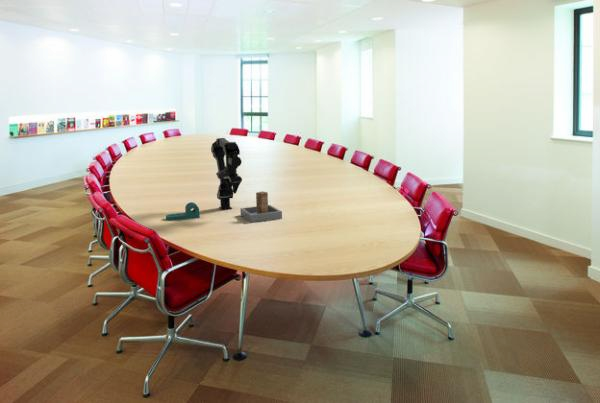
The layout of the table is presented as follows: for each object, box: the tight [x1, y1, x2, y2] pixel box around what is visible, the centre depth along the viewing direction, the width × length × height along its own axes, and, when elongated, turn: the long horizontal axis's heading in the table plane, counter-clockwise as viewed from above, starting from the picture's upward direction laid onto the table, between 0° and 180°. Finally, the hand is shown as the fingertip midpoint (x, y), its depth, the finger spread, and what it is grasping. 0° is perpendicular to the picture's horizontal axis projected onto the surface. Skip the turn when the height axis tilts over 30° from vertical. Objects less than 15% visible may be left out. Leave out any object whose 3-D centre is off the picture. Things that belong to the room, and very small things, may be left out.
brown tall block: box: [255, 191, 269, 214], centre depth 268 cm, size 4×4×13 cm
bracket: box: [165, 201, 201, 222], centre depth 269 cm, size 18×7×8 cm, turn 110°
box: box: [239, 204, 283, 224], centre depth 270 cm, size 18×18×4 cm
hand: (232, 192), depth 274 cm, fingers open, 9 cm apart
